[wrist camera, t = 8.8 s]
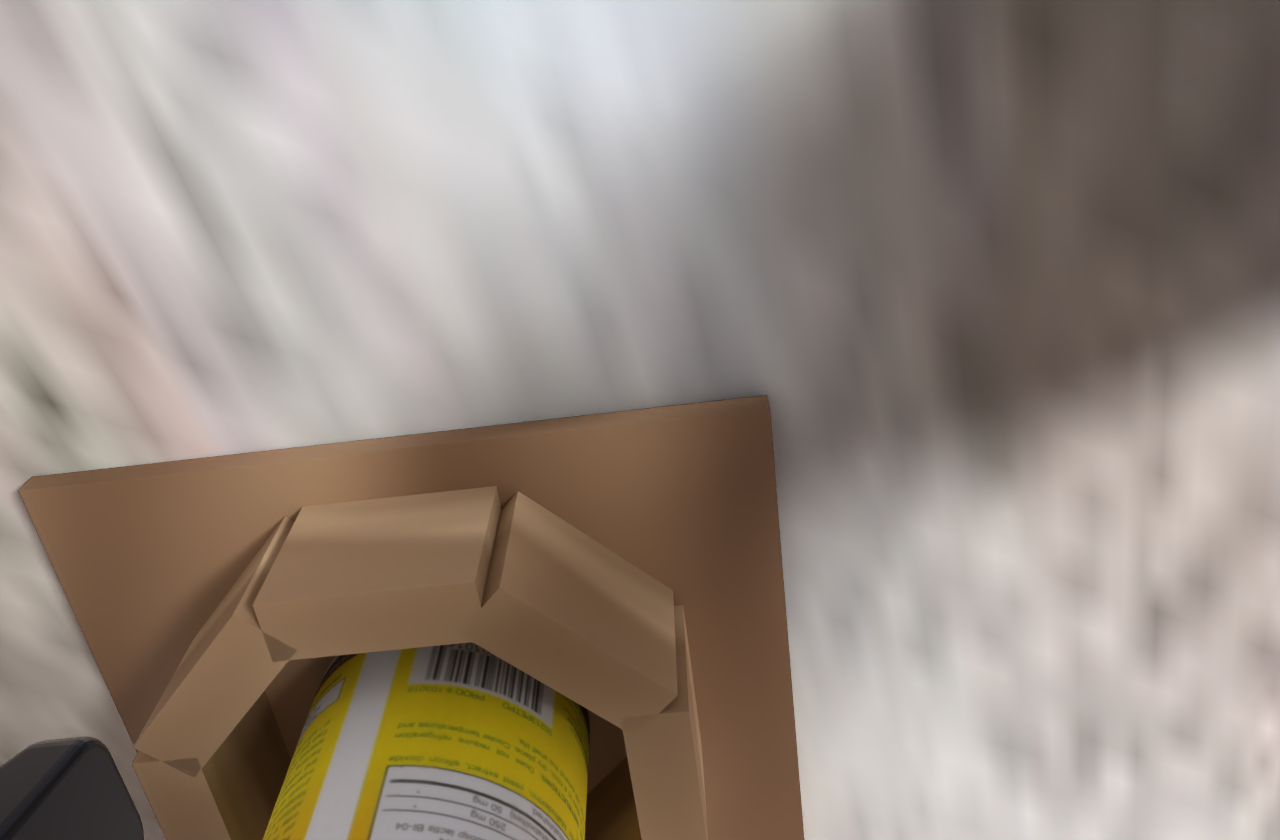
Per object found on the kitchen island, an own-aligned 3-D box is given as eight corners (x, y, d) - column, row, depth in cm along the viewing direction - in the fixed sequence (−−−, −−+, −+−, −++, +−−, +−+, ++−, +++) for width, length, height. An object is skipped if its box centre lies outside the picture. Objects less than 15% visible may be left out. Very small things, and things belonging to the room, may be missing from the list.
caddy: (766, 395, 20) (789, 496, 17) (803, 853, 26) (825, 991, 23) (31, 476, 21) (-74, 587, 18) (220, 903, 27) (165, 1043, 23)
